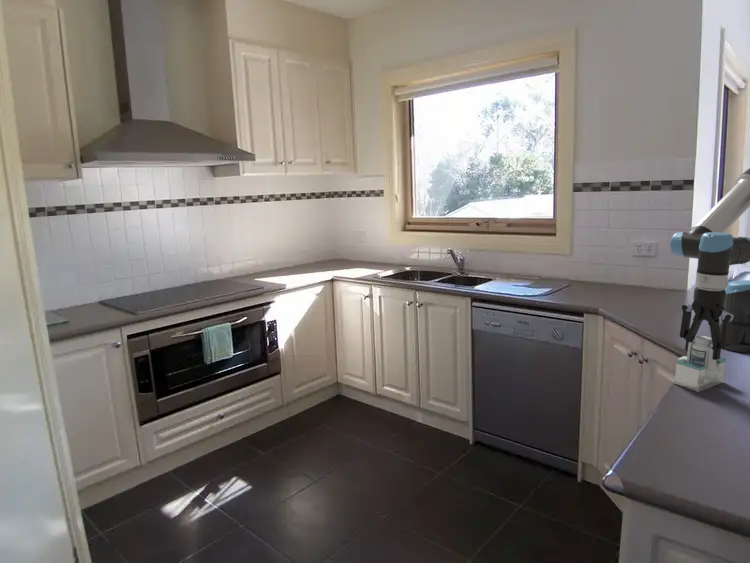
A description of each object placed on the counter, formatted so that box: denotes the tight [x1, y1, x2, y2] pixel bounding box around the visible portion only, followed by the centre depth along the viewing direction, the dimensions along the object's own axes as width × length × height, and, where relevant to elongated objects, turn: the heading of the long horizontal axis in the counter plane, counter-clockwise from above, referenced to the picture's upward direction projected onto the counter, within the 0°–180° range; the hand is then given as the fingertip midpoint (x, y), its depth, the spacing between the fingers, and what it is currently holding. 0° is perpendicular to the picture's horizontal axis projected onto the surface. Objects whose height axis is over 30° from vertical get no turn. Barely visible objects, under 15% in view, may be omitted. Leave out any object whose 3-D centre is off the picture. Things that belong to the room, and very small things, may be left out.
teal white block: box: [673, 357, 727, 393], centre depth 152 cm, size 13×7×7 cm, turn 118°
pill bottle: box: [690, 335, 713, 370], centre depth 150 cm, size 5×5×9 cm
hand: (700, 365), depth 151 cm, fingers closed on pill bottle, 5 cm apart
